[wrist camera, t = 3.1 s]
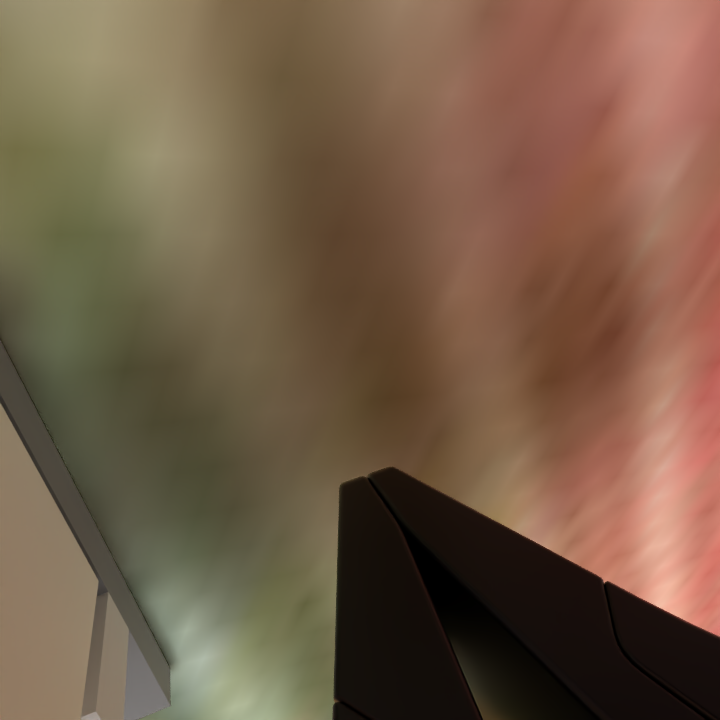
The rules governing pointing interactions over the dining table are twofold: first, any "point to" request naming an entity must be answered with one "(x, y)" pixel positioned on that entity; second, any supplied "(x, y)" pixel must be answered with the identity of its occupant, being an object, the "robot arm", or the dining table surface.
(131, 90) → the dining table surface
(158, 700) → the grey angular frame
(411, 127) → the dining table surface
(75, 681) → the beige angular block
